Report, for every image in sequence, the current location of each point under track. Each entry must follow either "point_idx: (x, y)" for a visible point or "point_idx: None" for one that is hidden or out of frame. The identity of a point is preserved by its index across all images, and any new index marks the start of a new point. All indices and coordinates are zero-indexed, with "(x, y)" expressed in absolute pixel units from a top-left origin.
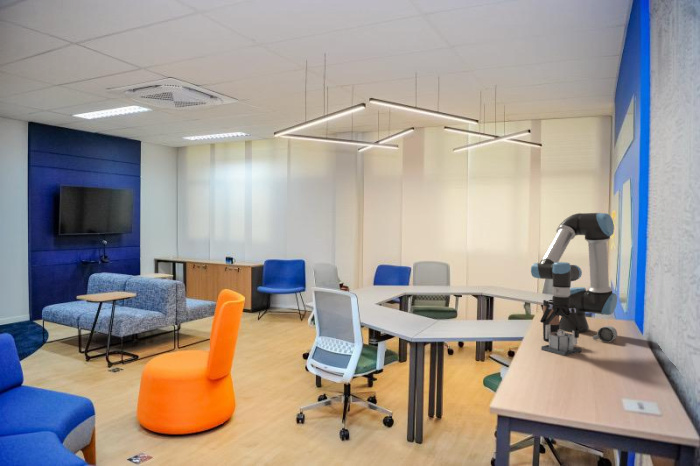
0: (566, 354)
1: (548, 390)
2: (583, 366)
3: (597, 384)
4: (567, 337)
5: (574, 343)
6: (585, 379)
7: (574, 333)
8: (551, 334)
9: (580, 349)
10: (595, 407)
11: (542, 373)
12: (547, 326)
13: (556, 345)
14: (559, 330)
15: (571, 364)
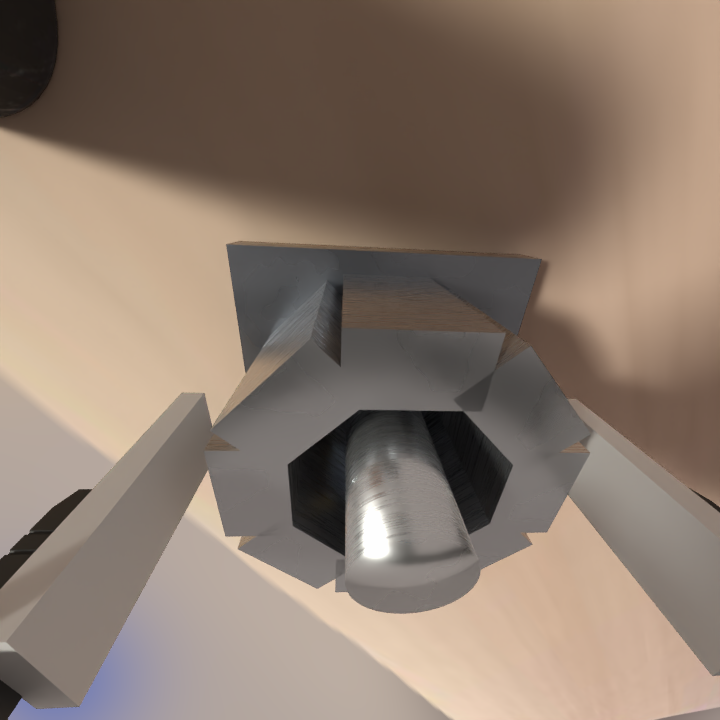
0: None
1: (553, 696)
2: None
3: None
4: (530, 542)
5: None
6: (634, 617)
7: (693, 594)
8: (312, 570)
9: (533, 260)
10: (669, 692)
11: (490, 654)
12: (96, 647)
13: None
14: (401, 602)
15: (548, 543)
